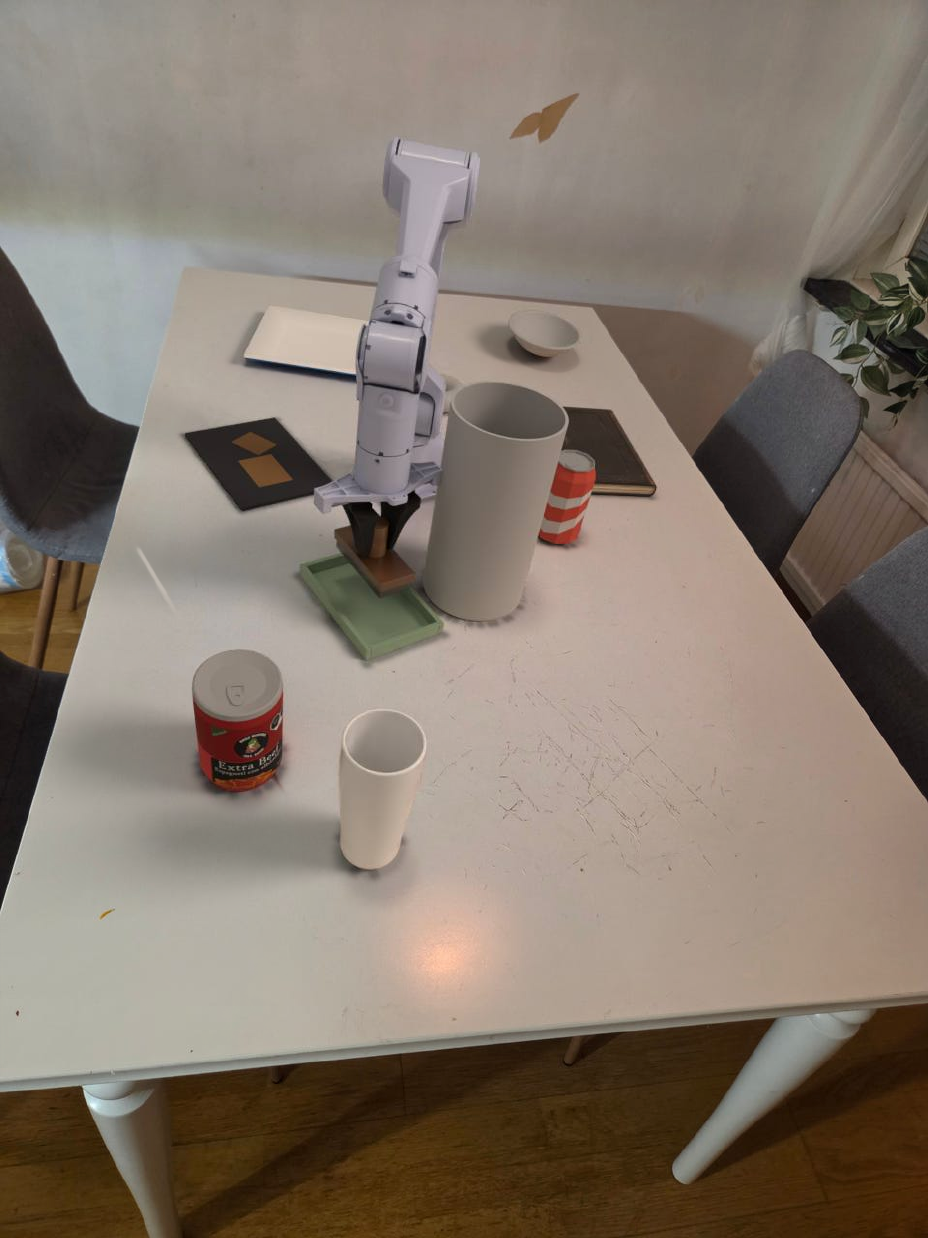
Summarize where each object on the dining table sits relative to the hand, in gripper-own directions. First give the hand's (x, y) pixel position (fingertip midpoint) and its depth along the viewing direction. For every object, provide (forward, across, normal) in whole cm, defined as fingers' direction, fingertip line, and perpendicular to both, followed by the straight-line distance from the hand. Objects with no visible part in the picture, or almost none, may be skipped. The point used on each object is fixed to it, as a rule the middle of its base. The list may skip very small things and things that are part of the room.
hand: (374, 547), depth 90 cm
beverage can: (+9, +31, +2) cm, 32 cm away
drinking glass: (+8, -16, -28) cm, 34 cm away
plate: (+9, +26, +63) cm, 68 cm away
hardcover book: (+9, +50, +17) cm, 53 cm away
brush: (+3, 0, 0) cm, 3 cm away
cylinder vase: (+9, +13, -3) cm, 16 cm away
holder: (+8, 0, 0) cm, 8 cm away
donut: (+9, +36, +40) cm, 54 cm away
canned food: (+8, -22, -14) cm, 28 cm away
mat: (+8, +1, +33) cm, 34 cm away
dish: (+9, +67, +50) cm, 84 cm away
